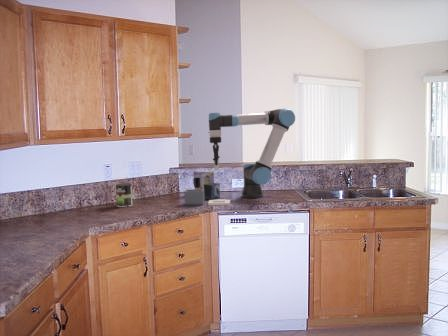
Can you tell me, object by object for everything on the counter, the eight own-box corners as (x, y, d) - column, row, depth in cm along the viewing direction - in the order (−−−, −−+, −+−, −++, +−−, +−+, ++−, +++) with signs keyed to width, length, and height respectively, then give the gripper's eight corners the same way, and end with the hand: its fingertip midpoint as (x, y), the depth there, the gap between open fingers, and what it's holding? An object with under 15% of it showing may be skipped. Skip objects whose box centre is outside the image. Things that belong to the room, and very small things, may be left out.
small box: (211, 200, 328) (210, 184, 327) (203, 199, 332) (203, 184, 331) (220, 197, 336) (220, 183, 335) (213, 197, 340) (212, 182, 339)
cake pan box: (193, 193, 358) (192, 170, 356) (198, 193, 361) (197, 169, 359) (210, 196, 344) (209, 171, 342) (215, 195, 347) (214, 171, 345)
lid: (230, 202, 320) (230, 198, 320) (230, 205, 308) (229, 201, 308) (209, 203, 320) (209, 198, 320) (208, 206, 308) (207, 201, 308)
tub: (204, 202, 319) (204, 189, 318) (203, 204, 311) (203, 191, 310) (186, 203, 319) (185, 189, 318) (185, 205, 311) (184, 191, 310)
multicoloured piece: (127, 207, 309) (126, 185, 308) (113, 206, 313) (112, 185, 311) (135, 204, 319) (134, 183, 317) (122, 204, 322) (121, 183, 321)
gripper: (210, 136, 325) (211, 167, 327) (208, 137, 300) (210, 171, 302) (221, 135, 325) (222, 166, 327) (220, 137, 300) (222, 171, 302)
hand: (216, 169), depth 315 cm, fingers open, 13 cm apart
